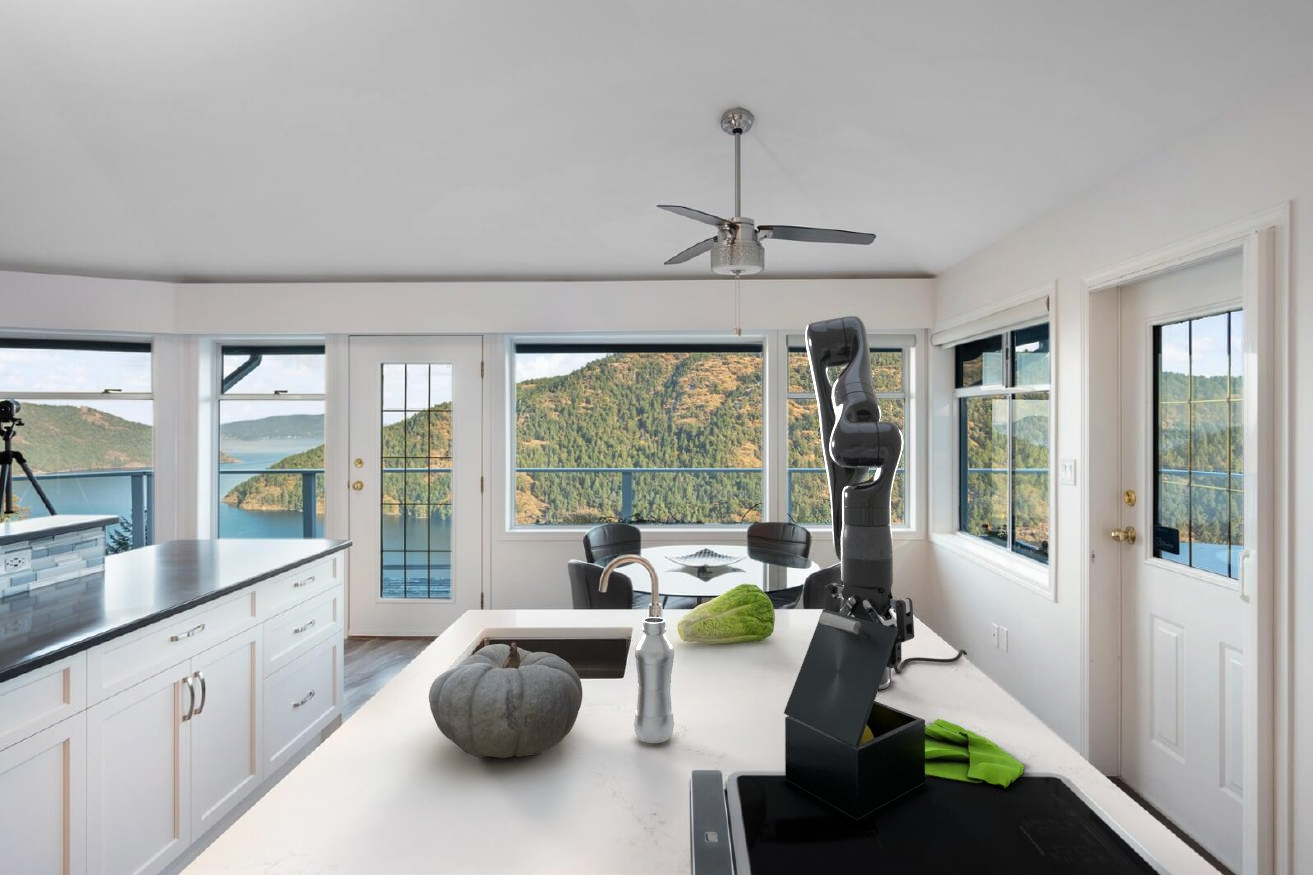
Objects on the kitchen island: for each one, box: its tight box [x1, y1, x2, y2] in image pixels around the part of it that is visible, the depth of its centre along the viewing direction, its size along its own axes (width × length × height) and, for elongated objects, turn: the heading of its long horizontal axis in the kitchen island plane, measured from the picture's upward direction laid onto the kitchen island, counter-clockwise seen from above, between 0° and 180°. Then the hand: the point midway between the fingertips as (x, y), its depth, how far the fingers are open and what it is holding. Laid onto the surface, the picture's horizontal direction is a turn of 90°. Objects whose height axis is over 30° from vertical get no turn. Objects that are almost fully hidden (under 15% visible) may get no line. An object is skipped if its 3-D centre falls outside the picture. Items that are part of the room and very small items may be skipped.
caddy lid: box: [783, 608, 898, 748], centre depth 92 cm, size 16×13×5 cm
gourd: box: [428, 642, 583, 759], centre depth 109 cm, size 25×25×17 cm
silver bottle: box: [633, 616, 675, 744], centre depth 110 cm, size 6×7×20 cm
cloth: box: [925, 718, 1026, 789], centre depth 106 cm, size 20×22×2 cm
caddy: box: [784, 700, 926, 826], centre depth 95 cm, size 16×13×10 cm
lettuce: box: [676, 583, 776, 645], centre depth 163 cm, size 14×24×14 cm
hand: (867, 658), depth 100 cm, fingers open, 8 cm apart
